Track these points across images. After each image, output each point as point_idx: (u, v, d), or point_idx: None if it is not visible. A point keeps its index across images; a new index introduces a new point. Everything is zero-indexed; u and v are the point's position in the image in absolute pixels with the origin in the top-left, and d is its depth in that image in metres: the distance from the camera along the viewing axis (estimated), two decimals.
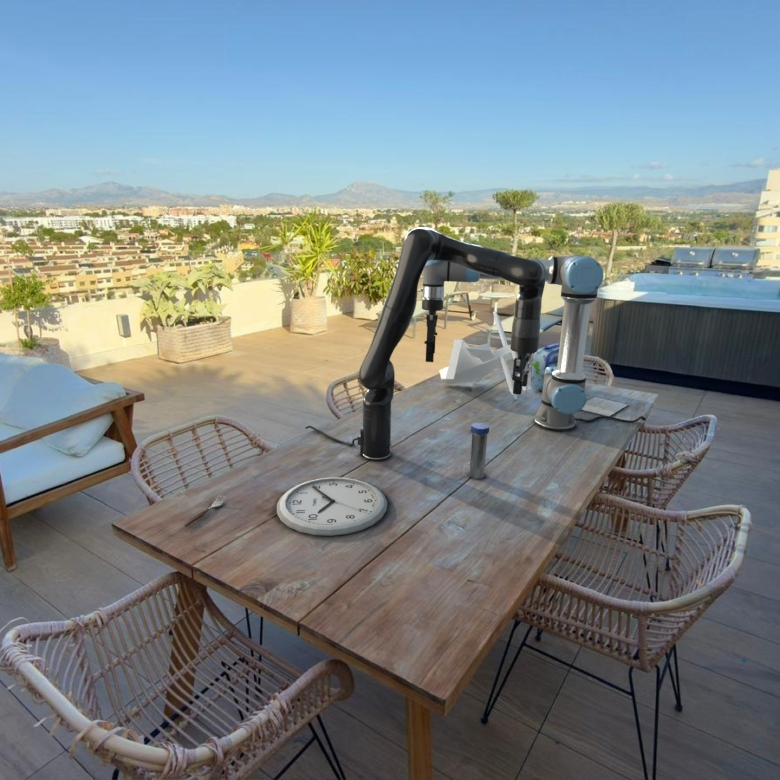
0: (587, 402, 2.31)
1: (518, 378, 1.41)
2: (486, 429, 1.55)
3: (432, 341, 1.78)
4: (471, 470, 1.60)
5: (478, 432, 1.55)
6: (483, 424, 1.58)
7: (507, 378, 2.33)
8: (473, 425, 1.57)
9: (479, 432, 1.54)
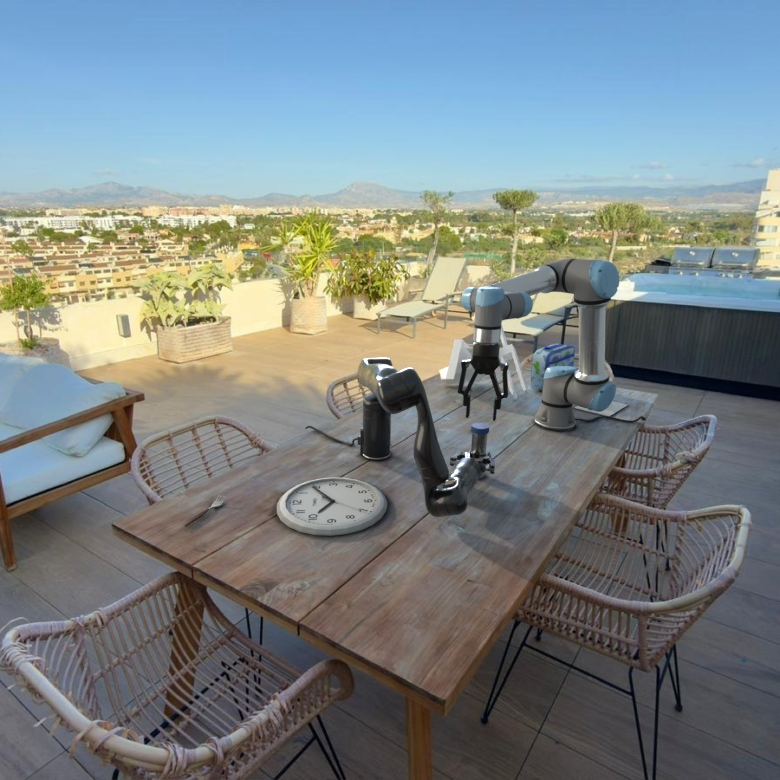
0: None
1: None
2: (486, 429, 1.55)
3: None
4: None
5: (478, 432, 1.55)
6: (483, 424, 1.58)
7: None
8: (473, 425, 1.57)
9: (479, 432, 1.54)
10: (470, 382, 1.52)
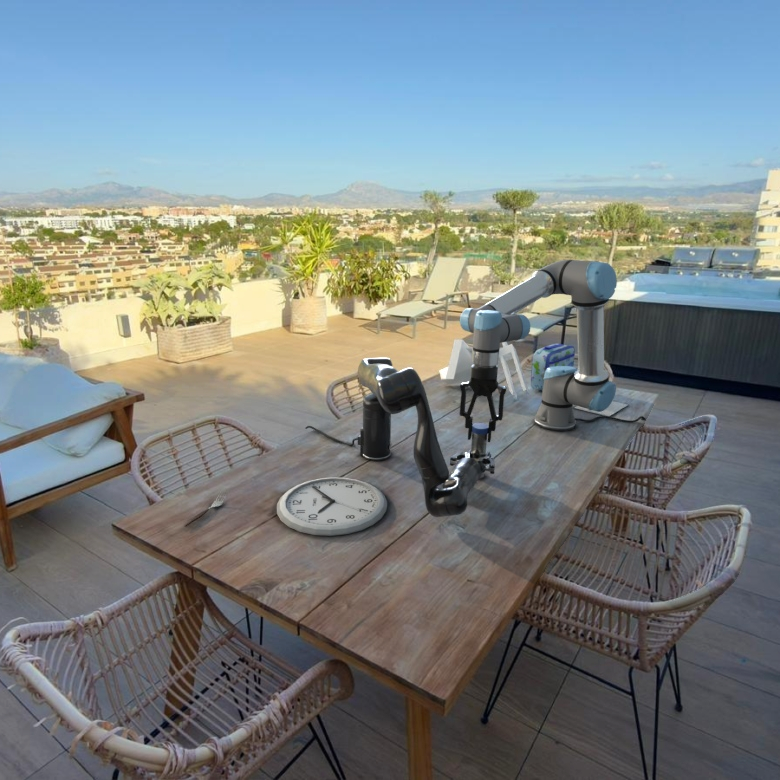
0: None
1: None
2: (486, 429, 1.55)
3: (460, 413, 1.56)
4: None
5: (478, 432, 1.55)
6: (483, 424, 1.58)
7: (507, 378, 2.33)
8: (473, 425, 1.57)
9: (479, 432, 1.54)
10: (471, 404, 1.54)
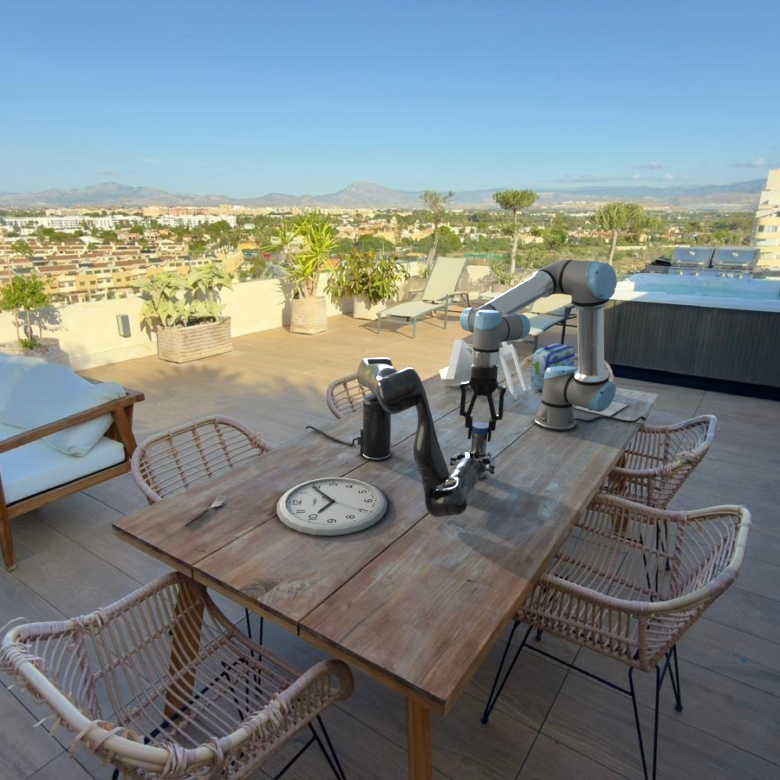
0: None
1: None
2: None
3: (460, 412, 1.56)
4: None
5: None
6: (475, 424, 1.57)
7: (507, 378, 2.33)
8: (483, 427, 1.55)
9: None
10: (471, 404, 1.54)
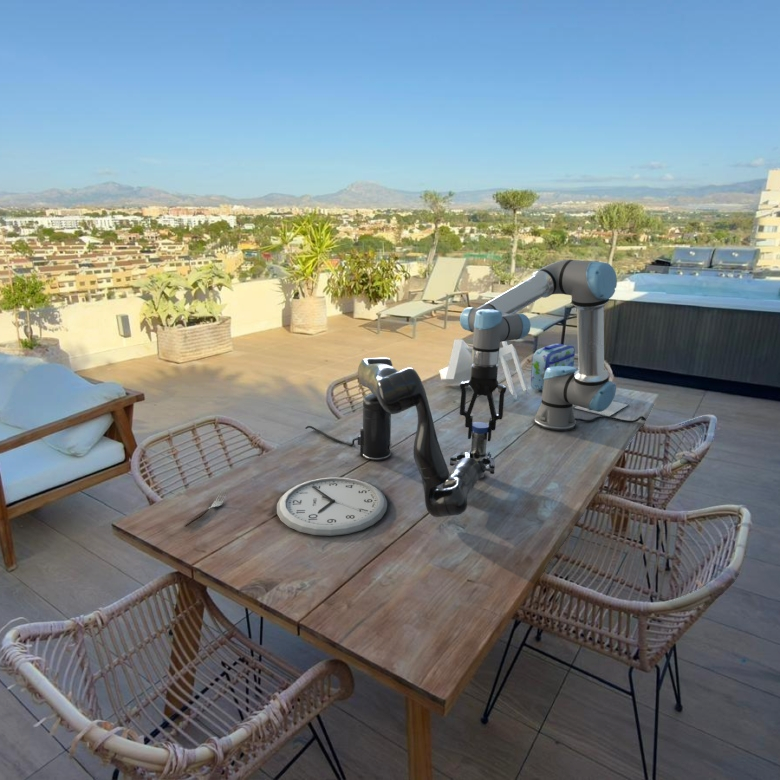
0: None
1: None
2: None
3: (460, 412, 1.56)
4: None
5: None
6: (480, 426, 1.55)
7: (507, 378, 2.33)
8: (485, 423, 1.58)
9: None
10: (471, 404, 1.54)
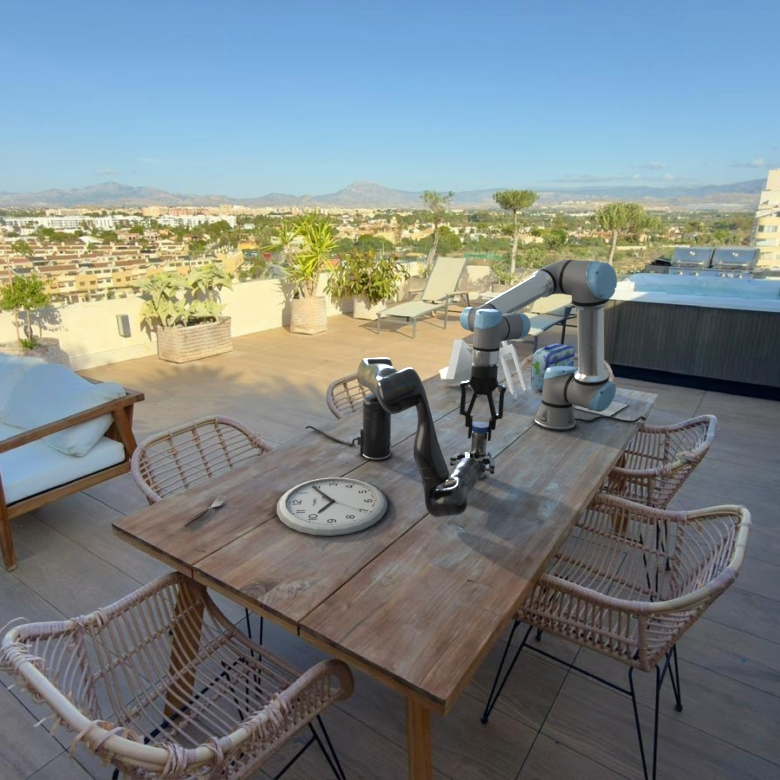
0: None
1: None
2: (482, 428, 1.54)
3: (460, 412, 1.56)
4: None
5: (474, 430, 1.55)
6: (485, 424, 1.57)
7: (507, 378, 2.33)
8: (474, 423, 1.58)
9: (475, 430, 1.55)
10: (471, 403, 1.54)
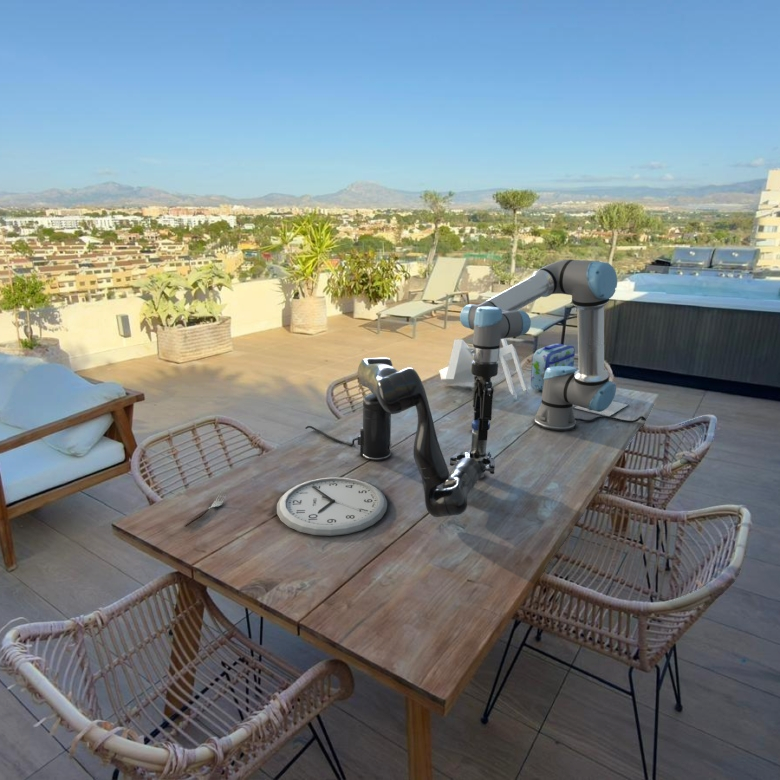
0: None
1: None
2: None
3: (489, 418, 1.49)
4: None
5: (488, 428, 1.55)
6: (477, 420, 1.58)
7: (507, 378, 2.33)
8: None
9: (489, 427, 1.56)
10: None
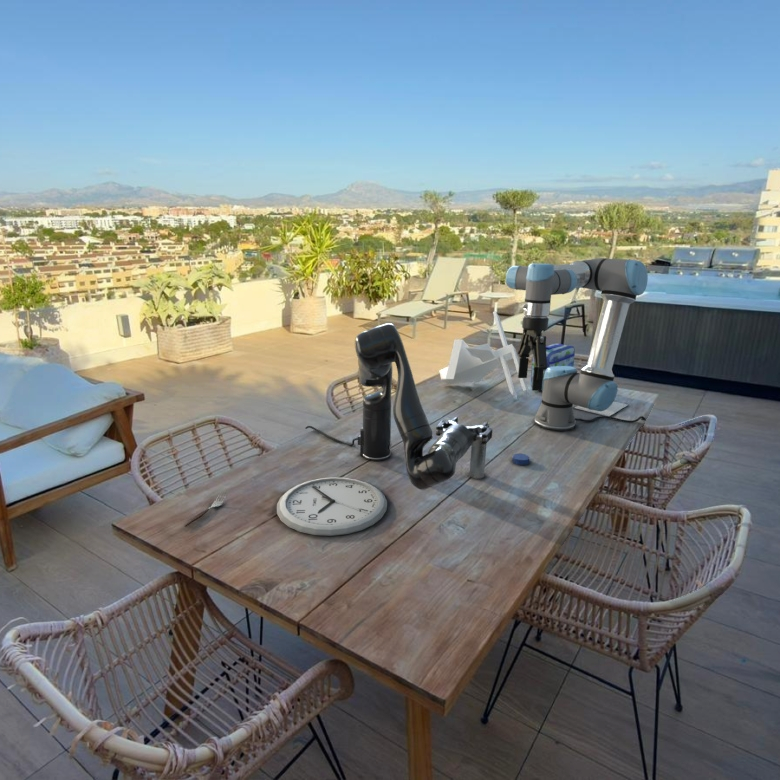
0: None
1: None
2: None
3: (545, 367, 1.52)
4: (471, 470, 1.60)
5: (528, 462, 1.70)
6: (517, 455, 1.72)
7: (507, 378, 2.33)
8: (521, 459, 1.69)
9: None
10: None
